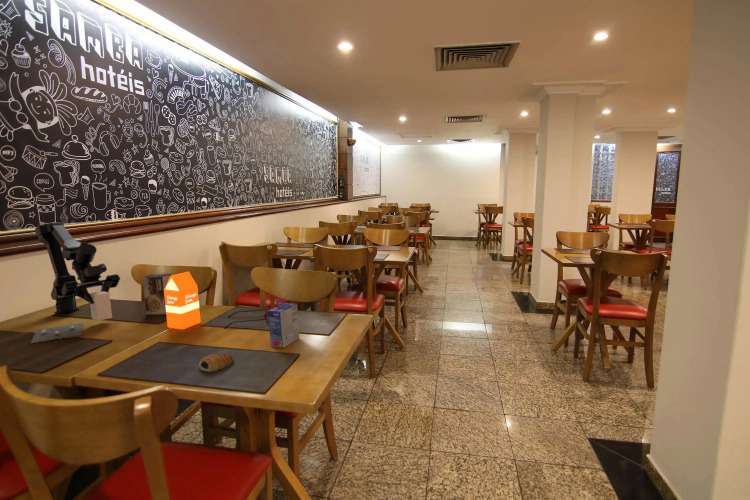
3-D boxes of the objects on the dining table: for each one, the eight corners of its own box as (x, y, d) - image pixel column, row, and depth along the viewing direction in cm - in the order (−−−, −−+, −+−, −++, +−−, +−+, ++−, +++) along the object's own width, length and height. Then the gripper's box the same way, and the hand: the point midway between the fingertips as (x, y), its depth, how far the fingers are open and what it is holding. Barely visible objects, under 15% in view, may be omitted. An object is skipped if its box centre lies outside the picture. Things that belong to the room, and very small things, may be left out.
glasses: (269, 325, 156) (268, 313, 155) (223, 329, 152) (222, 316, 151) (269, 314, 169) (269, 303, 168) (227, 318, 165) (226, 306, 164)
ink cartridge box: (286, 336, 143) (284, 295, 141) (300, 338, 141) (298, 297, 139) (269, 346, 134) (266, 303, 132) (283, 348, 132) (281, 304, 130)
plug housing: (91, 318, 159) (88, 293, 157) (106, 315, 163) (103, 290, 162) (97, 321, 156) (94, 295, 155) (112, 317, 160) (109, 292, 159)
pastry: (223, 358, 126) (223, 346, 125) (238, 362, 122) (238, 350, 122) (196, 369, 118) (195, 357, 117) (211, 375, 114) (210, 362, 114)
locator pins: (42, 334, 148) (41, 330, 147) (74, 328, 153) (74, 325, 152) (40, 338, 143) (39, 334, 143) (73, 332, 148) (73, 328, 148)
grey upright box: (175, 310, 177) (171, 273, 174) (166, 314, 170) (162, 276, 168) (155, 309, 178) (151, 273, 175) (145, 314, 171) (141, 276, 169)
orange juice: (167, 327, 155) (162, 275, 152) (185, 320, 163) (181, 270, 160) (182, 329, 152) (178, 276, 149) (201, 322, 160) (196, 271, 157)
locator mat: (37, 331, 153) (36, 329, 152) (83, 324, 160) (82, 322, 160) (30, 344, 139) (30, 342, 139) (81, 335, 147) (81, 334, 147)
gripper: (60, 261, 151) (77, 294, 147) (115, 254, 166) (132, 284, 162) (55, 280, 157) (71, 312, 152) (108, 271, 172) (124, 300, 167)
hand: (100, 301), depth 158 cm, fingers closed on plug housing, 5 cm apart
